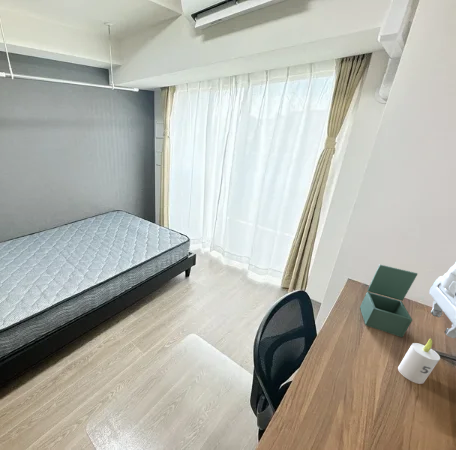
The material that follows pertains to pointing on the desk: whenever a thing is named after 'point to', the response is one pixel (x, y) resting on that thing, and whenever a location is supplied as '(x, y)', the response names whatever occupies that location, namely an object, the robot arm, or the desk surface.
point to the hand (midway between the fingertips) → (441, 324)
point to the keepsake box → (385, 314)
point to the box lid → (392, 282)
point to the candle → (419, 362)
